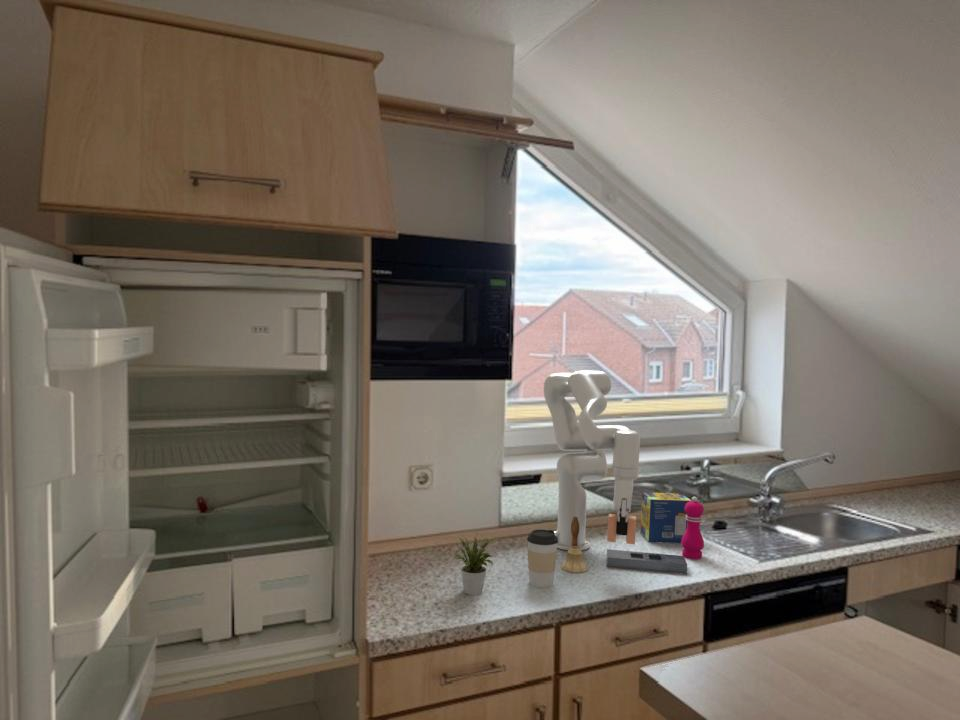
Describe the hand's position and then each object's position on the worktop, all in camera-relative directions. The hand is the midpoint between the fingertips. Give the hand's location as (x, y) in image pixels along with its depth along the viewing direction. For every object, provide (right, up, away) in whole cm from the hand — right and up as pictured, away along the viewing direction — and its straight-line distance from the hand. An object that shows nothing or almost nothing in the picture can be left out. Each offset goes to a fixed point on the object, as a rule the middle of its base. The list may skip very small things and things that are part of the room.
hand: (621, 531), depth 195 cm
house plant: (-45, -13, -14) cm, 49 cm away
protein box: (+25, -13, +41) cm, 50 cm away
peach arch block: (0, -3, 0) cm, 3 cm away
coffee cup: (-25, -13, -6) cm, 29 cm away
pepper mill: (+28, -14, +22) cm, 38 cm away
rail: (+10, -14, +11) cm, 20 cm away
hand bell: (-13, -13, +7) cm, 20 cm away
